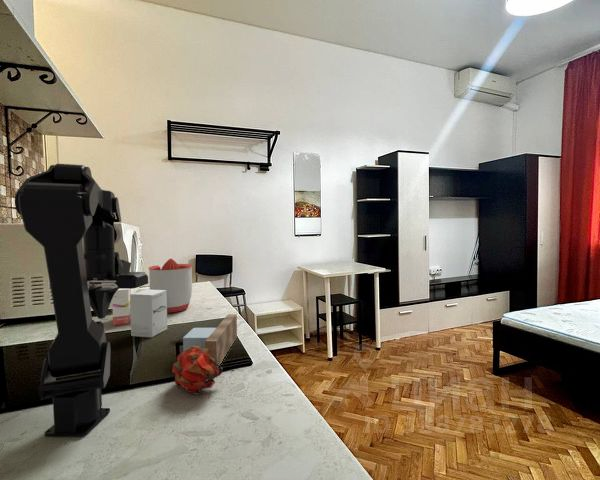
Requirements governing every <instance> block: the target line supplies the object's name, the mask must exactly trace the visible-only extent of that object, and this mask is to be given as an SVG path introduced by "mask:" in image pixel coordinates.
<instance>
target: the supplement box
mask: <svg viewBox="0 0 600 480" xmlns="http://www.w3.org/2000/svg"><path fill="white" fill-rule="evenodd" d="M130 309H131V320H130V336H131V337H141V338H143V337H144V338H154V337H155V336H157V335H158V334H161V333H162V332H165V331H167V330H168V313H167V294H166V290H150V289H144V290H141V291H137V292H135V293H131V295H130Z"/></svg>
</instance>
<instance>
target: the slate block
mask: <svg viewBox="0 0 600 480" xmlns="http://www.w3.org/2000/svg"><path fill="white" fill-rule="evenodd" d="M216 328H217V327H193V328H192V329H191V330H189V332H187V334H185V335H184V336H183V337H182V347H183V348H182V352H183V351H184V350H186V349H187V348H191V347H192V346H199V347H200V348H201V349H204V348H205V341H206V340H207V338H208V337H209V336H210V335H211V334H212V333H213V331H214V330H215V329H216Z"/></svg>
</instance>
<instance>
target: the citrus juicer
mask: <svg viewBox="0 0 600 480" xmlns="http://www.w3.org/2000/svg"><path fill="white" fill-rule="evenodd" d="M192 267H193V265H192V264H189V263H178V262H176V261H175V260H174V259H173V258H169V259H168V260H166V262H165V263H164V264H163V265H162V267H161V266H159V265H152V266H149V267H148V272H149V273H148V274H149V275H148V279H149V290H166V294H167V314H170V313H177V312H182V311H185V310H187V309H188V308H189V305H190V302H191V299H192V293H193V278H192V277H193V274H192V272H193V269H192Z"/></svg>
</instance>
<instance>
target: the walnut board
mask: <svg viewBox="0 0 600 480" xmlns="http://www.w3.org/2000/svg"><path fill="white" fill-rule="evenodd" d="M215 328H216V329H215V330H214V331H213V333H212V334H211V335H210V336H209V337H208V338H207V340H206V341H205V348H207V349H209V350H210V352H209V354H208V355H211V356H213V357H214V359H215V363H216V364H218V365H219V366H220V364H221V363H222V361H223V359H224V357H225V356H226V354H227V352H228V351H229V349H230V347H231V346H232V344H233V343H234V341H235V340H236V341H237V339H238V317H237V314H234V313H233V314H231V313H229V314H227V315H226V316H225V318H224V319H223V320H221V322H220V323H219V324H218V326H217V327H215ZM236 338H237V339H236ZM236 341H235V342H236ZM234 344H235V343H234ZM234 344H233V345H234ZM232 347H233V346H232ZM230 350H231V349H230ZM229 352H230V351H229ZM227 355H228V354H227ZM226 357H227V356H226ZM224 360H225V359H224ZM223 362H224V361H223ZM222 364H223V363H222ZM222 364H221V365H222ZM212 365H214V366H215V367H217V368H218V367H219V366H217V365H215V364H214V363H213V364H212ZM220 367H221V366H220Z"/></svg>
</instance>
